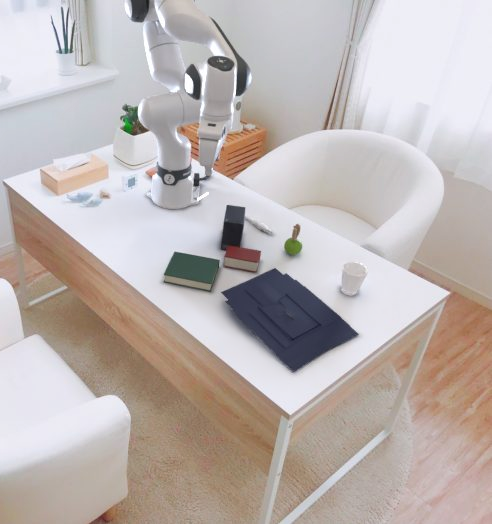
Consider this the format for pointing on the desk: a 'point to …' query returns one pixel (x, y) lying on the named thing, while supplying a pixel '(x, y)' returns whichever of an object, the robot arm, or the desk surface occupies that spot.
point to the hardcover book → (192, 271)
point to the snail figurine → (293, 242)
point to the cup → (352, 277)
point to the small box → (233, 226)
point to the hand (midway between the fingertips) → (212, 167)
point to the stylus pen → (259, 225)
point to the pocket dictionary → (242, 258)
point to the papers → (288, 317)
